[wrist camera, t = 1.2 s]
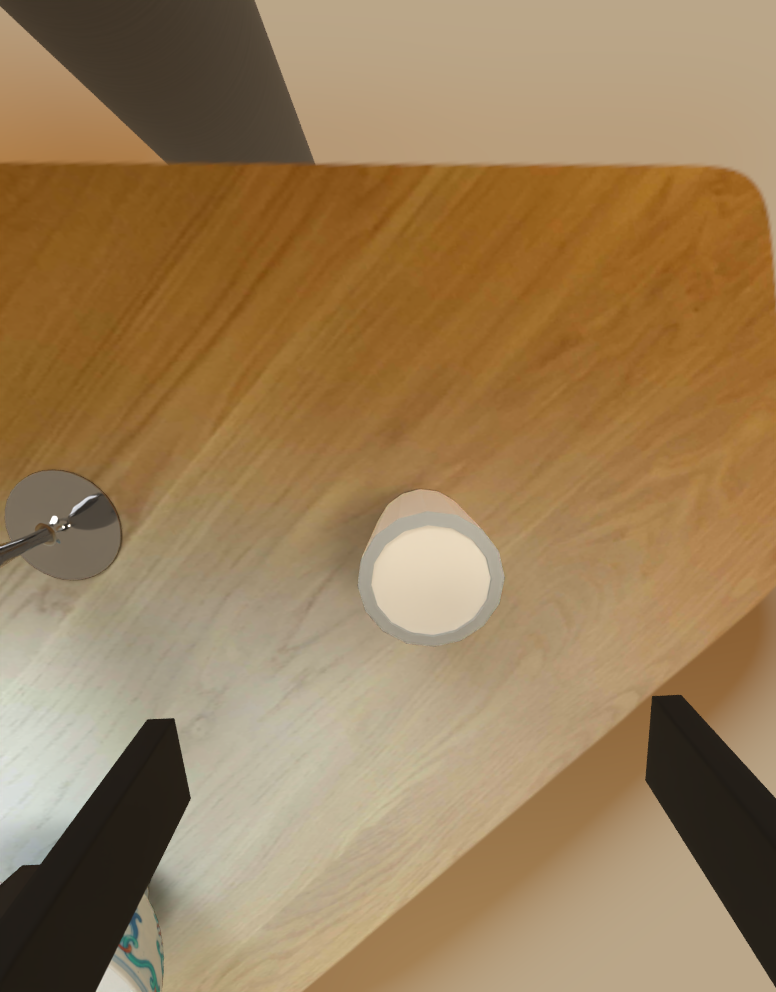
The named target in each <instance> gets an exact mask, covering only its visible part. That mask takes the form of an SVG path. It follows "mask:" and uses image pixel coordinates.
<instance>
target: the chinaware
mask: <svg viewBox="0 0 776 992" xmlns="http://www.w3.org/2000/svg"><path fill="white" fill-rule="evenodd" d="M148 894H149V891H148V887H147V889H146V891H145V893H144V895H143V897H142V899H141V901H140V903H139V905H138V907H137V909H136V911H135V913H134V915H133V917H132V919H131V921H130V923H129V925H128V927H127V929H126V931H125V933H124V935H123V937H122V939H121V942H120V944H119V946H118V948H117V950H116V952H115V954H114V956H113V958H112V960H111V962H110V964H109V966H108V968H107V970H106V972H105V974H104V976H103V978H102V980H101V982H100V984H99V986H98V988H97V990H96V992H162V986H163V973H164V954H163V943H162V937H161V932H160V927H159V924H158V920H157V918H156V915H155V912H154V910H153V908H152V906H151V904H150V902H149V900H148Z"/></svg>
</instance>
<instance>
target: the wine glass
mask: <svg viewBox="0 0 776 992" xmlns="http://www.w3.org/2000/svg"><path fill="white" fill-rule="evenodd" d="M5 523H6V529H7V532H8V535H9V538H10V539H11V541H10V542H6V543H3V544H0V568H2V567H3V566H4V565H6V564H7V563H9V562H10V561H12V560H13V559H15V558H16V557H18V556H19V555H21V556H22V557H23V558H24V559H25V560H26V561H27V562H28V563H29V564H31V565H32V566H33V567H34V568H36V569H38V570H39V571H41V572H43V573H45V574H47V575H50V576H53V577H56V578H60V579H67V580H79V579H86V578H90V577H93V576H95V575H97V574H99V573H101V572H102V571H104V570H105V569H106V568H108V567H109V565H110V564H111V563H112V562H113V561H114V559H115V557H116V556H117V554H118V551H119V548H120V545H121V536H122V535H121V525H120V521H119V517H118V514H117V512H116V510H115V508H114V506H113V504H112V503H111V501H110V500H109V498H108V497H107V496H106V495H105V494H104V493H103V491H102V490H101V489H99V488H98V487H97V486H96V485H95V484H93V483H92V482H90V481H89V480H87V479H85V478H84V477H82V476H79V475H77V474H74V473H71V472H67V471H63V470H44V471H40V472H36V473H33V474H31V475H29V476H27V477H25V478H24V479H23V480H21V481H20V482H19V483H18V484H17V485H16V486H15V487H14V489H13V490H12V491H11V493H10V495H9V497H8V499H7V503H6V507H5Z"/></svg>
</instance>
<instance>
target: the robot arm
mask: <svg viewBox="0 0 776 992" xmlns="http://www.w3.org/2000/svg"><path fill="white" fill-rule="evenodd" d="M645 780H646V782H647V784H648V785H649V787H650V788H651V790H652V792H653V793H654V795H655V796H656V798H657V799H658V801H659V803H660V804H661V806H662V807H663V809H664V810H665V812H666V814H667V815H668V817H669V819H670V820H671V822H672V823H673V825H674V826H675V828H676V830H677V831H678V833H679V834H680V836H681V838H682V839H683V841H684V842H685V844H686V846H687V847H688V849H689V850H690V852H691V854H692V855H693V857H694V858H695V860H696V862H697V863H698V864H699V866H700V868H701V869H702V871H703V872H704V874H705V876H706V877H707V879H708V880H709V882H710V884H711V885H712V887H713V889H714V890H715V892H716V893H717V895H718V896H719V898H720V900H721V901H722V903H723V904H724V906H725V908H726V909H727V911H728V912H729V914H730V915H731V917H732V919H733V920H734V922H735V923H736V925H737V927H738V928H739V930H740V931H741V933H742V934H743V936H744V938H745V939H746V941H747V942H748V944H749V946H750V947H751V949H752V950H753V952H754V954H755V955H756V957H757V959H758V960H759V962H760V963H761V965H762V966H763V968H764V969H765V971H766V973H767V974H768V976H769V978H770V979H771V981H772V982H773V984H774V986H775V987H776V798H775V797H774V796H773V795H772V794H771V793H770V792H769V791H768V790H767V788H766V787H765V786H764V785H763V784H762V783H761V782H760V781H759V780H758V779H757V777H756V776H755V775H754V774H753V773H752V772H751V771H750V770H749V769H748V768H747V766H746V765H745V764H744V763H743V762H742V761H741V760H740V759H739V758H738V757H737V755H736V754H735V753H734V752H733V751H732V750H731V749H730V748H729V747H728V746H727V745H726V743H725V742H724V741H723V740H722V739H721V738H720V737H719V736H718V735H717V734H716V733H715V731H714V730H713V729H712V728H711V727H710V726H709V725H708V724H707V723H706V722H705V721H704V719H703V718H702V717H701V716H700V715H699V714H698V713H697V712H696V711H695V710H694V709H693V707H692V706H691V705H690V704H689V703H688V702H687V701H686V700H685V699H684V698H683V696H682V695H668V696H652V706H651V719H650V730H649V742H648V755H647V768H646V779H645ZM190 799H191V797H190V792H189V787H188V782H187V778H186V773H185V768H184V763H183V758H182V753H181V749H180V744H179V739H178V734H177V729H176V724H175V719H174V718H169V719H148V720H147V721H146V722H145V723H144V725H143V726H142V727H141V729H140V730H139V731H138V733H137V734H136V736H135V737H134V738H133V740H132V741H131V742H130V744H129V745H128V746H127V748H126V749H125V750H124V752H123V753H122V755H121V756H120V757H119V759H118V760H117V761H116V763H115V764H114V765H113V767H112V768H111V769H110V771H109V772H108V773H107V775H106V776H105V778H104V779H103V780H102V782H101V783H100V784H99V786H98V787H97V788H96V790H95V791H94V792H93V794H92V795H91V797H90V798H89V799H88V801H87V802H86V803H85V805H84V806H83V807H82V809H81V810H80V811H79V813H78V814H77V816H76V817H75V818H74V820H73V821H72V822H71V824H70V825H69V826H68V828H67V829H66V830H65V832H64V833H63V835H62V836H61V837H60V839H59V840H58V841H57V843H56V844H55V845H54V847H53V848H52V849H51V851H50V852H49V854H48V855H47V856H46V858H45V859H44V860H43V862H42V863H41V864H40V865H22V866H21V867H20V868H19V869H18V870H17V871H15V872H14V873H13V874H12V875H11V876H10V877H9V878H7V879H6V880H5V881H4V882H3V883H2V884H1V885H0V992H96V990H97V988H98V986H99V984H100V982H101V980H102V978H103V976H104V974H105V972H106V970H107V968H108V966H109V964H110V962H111V960H112V958H113V956H114V954H115V952H116V950H117V948H118V946H119V944H120V942H121V939H122V937H123V935H124V933H125V931H126V929H127V927H128V925H129V923H130V921H131V919H132V917H133V915H134V913H135V911H136V909H137V907H138V905H139V903H140V901H141V899H142V897H143V895H144V893H145V891H146V889H147V887H148V885H149V883H150V881H151V879H152V877H153V874H154V872H155V870H156V868H157V866H158V864H159V862H160V860H161V858H162V856H163V854H164V852H165V850H166V848H167V846H168V844H169V842H170V840H171V838H172V836H173V834H174V832H175V830H176V828H177V826H178V824H179V822H180V820H181V818H182V816H183V814H184V812H185V810H186V807H187V805H188V803H189V801H190Z"/></svg>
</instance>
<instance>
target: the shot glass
mask: <svg viewBox="0 0 776 992" xmlns="http://www.w3.org/2000/svg"><path fill="white" fill-rule="evenodd" d="M504 579H505V577H504V572H503V568H502V563H501V559H500V554H499V551H498V550H497V548H496V547H495V546H494V544H493V543H492V542H491V540H490V539H489V538H488V536H487V535H486V534H485V532H484V531H483V530H482V529H481V528H480V527H479V526H478V525H477V524H476V522H475V521H474V520H473V519H472V518H471V517H470V516H469V515H468V514H467V513H466V512H465V511H464V510H463V509H462V508H461V507H460V506H459V505H458V504H457V503H456V502H455V501H454V500H452V499H451V498H449V497H447V496H445V495H444V494H442V493H440V492H438V491H431V490H423V489H418V490H414V491H410V492H407V493H403V494H401V495H400V496H398V497H397V498H396V499H394V500H393V501H392V502H390V503H389V504H388V505H387V506H386V508H385V510H384V511H383V513H382V515H381V516H380V518H379V520H378V522H377V524H376V526H375V529H374V531H373V533H372V535H371V538H370V540H369V542H368V544H367V547H366V549H365V551H364V553H363V556H362V558H361V562H360V570H359V578H358V589H359V592H360V595H361V598H362V602H363V605H364V608H365V611H366V612H367V613H368V615H369V616H370V617H371V618H372V619H373V620H374V622H375V623H376V624H377V625H378V626H379V627H380V629H381V630H382V631H384V632H385V633H387V634H389V635H391V636H393V637H395V638H397V639H399V640H401V641H403V642H405V643H406V644H414V645H422V646H430V647H436V646H440V645H445V644H449V643H453V642H458V641H461V640H463V639H464V638H466V637H467V636H469V635H470V634H472V633H473V632H475V631H477V630H478V629H480V628H481V627H483V626H484V625H485V623H486V622H487V620H488V619H489V618H490V616H491V615H492V613H493V612H494V610H495V609H496V608H497V606H498V605H499V603H500V598H501V593H502V588H503V584H504Z"/></svg>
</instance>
